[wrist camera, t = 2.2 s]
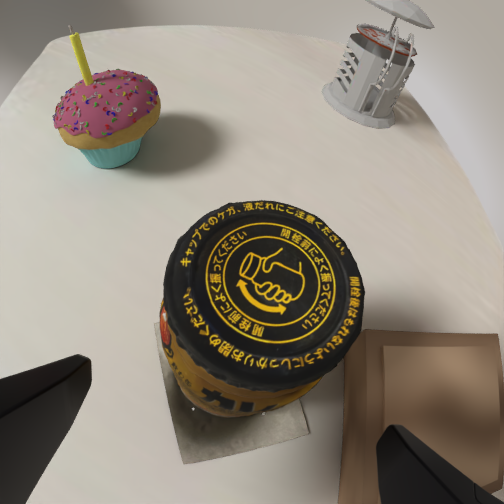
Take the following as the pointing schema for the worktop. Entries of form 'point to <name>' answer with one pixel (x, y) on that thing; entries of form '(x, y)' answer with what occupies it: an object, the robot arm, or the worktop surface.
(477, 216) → the worktop surface
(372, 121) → the french press
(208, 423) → the condiment
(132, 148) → the cupcake
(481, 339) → the walnut base
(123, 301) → the worktop surface
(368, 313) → the worktop surface
